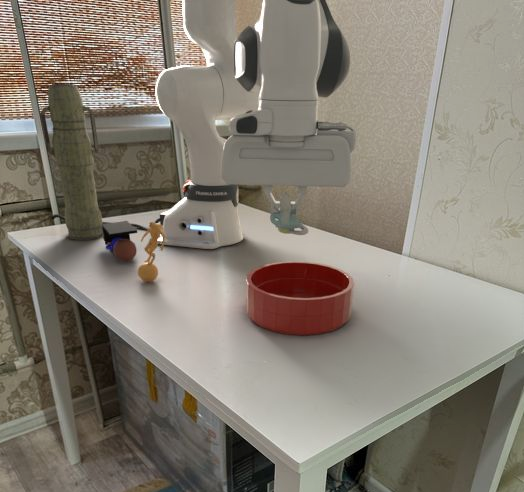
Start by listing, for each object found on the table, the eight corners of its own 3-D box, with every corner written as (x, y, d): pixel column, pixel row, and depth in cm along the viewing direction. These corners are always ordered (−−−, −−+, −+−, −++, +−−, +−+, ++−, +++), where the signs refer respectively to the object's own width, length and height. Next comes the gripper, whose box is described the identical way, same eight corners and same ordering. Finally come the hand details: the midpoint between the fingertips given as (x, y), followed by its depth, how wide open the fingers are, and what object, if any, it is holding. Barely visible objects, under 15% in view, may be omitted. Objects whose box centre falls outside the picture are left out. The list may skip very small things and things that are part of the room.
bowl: (240, 333, 84) (240, 297, 81) (251, 291, 100) (251, 259, 97) (354, 338, 83) (358, 302, 79) (346, 295, 99) (349, 263, 96)
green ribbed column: (60, 233, 133) (32, 83, 117) (105, 228, 138) (86, 83, 121) (64, 242, 126) (36, 84, 110) (112, 237, 131) (92, 84, 114)
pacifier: (299, 225, 88) (266, 223, 86) (305, 188, 84) (271, 186, 83) (313, 239, 81) (278, 237, 80) (321, 200, 78) (284, 197, 77)
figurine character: (101, 252, 124) (113, 264, 111) (96, 221, 121) (108, 230, 109) (129, 249, 127) (143, 260, 114) (124, 218, 124) (139, 226, 111)
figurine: (130, 277, 105) (124, 220, 100) (156, 271, 109) (151, 215, 103) (150, 289, 100) (144, 229, 94) (176, 282, 103) (172, 224, 98)
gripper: (355, 120, 78) (347, 210, 85) (224, 118, 80) (226, 207, 86) (359, 124, 73) (350, 220, 80) (218, 121, 74) (220, 216, 81)
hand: (284, 213), depth 83 cm, fingers closed on pacifier
